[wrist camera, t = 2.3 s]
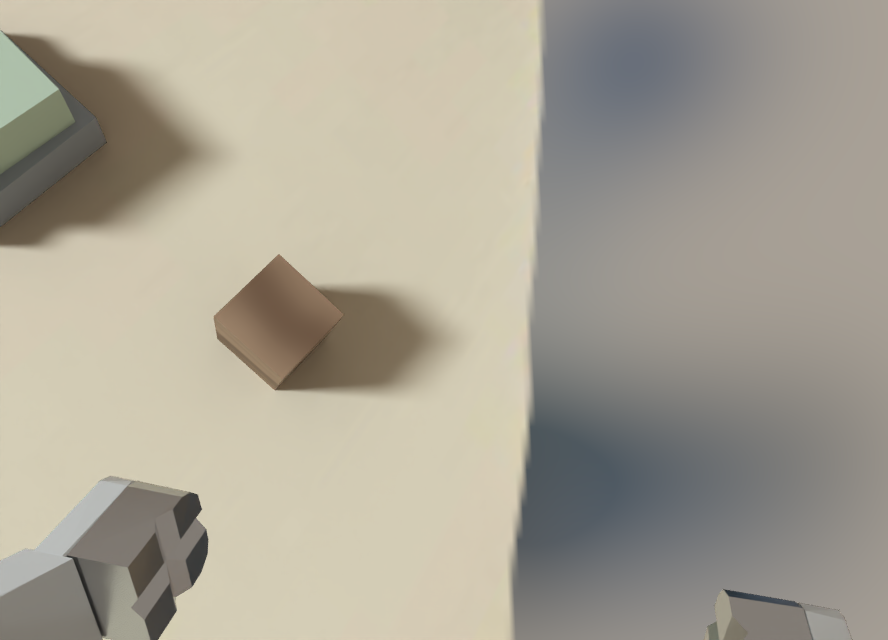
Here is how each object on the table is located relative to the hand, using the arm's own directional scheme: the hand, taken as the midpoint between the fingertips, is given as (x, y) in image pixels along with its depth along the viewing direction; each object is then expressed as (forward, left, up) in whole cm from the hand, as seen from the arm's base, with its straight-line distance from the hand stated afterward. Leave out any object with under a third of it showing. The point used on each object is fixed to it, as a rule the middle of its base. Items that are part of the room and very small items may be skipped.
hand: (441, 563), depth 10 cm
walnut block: (+2, +9, -35) cm, 36 cm away
